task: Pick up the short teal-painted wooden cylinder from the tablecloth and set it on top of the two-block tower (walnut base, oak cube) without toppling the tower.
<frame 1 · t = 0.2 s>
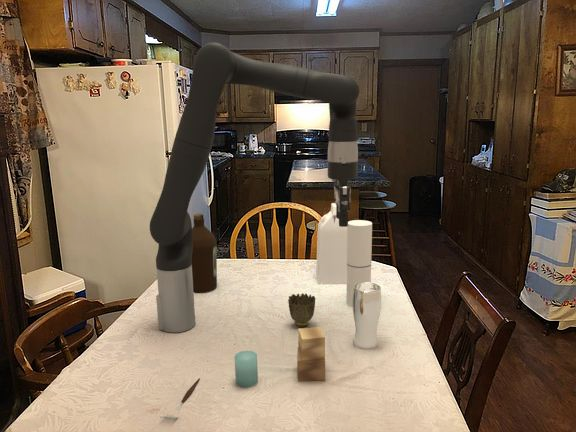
hand: (341, 222, 121), 29 cm above the table, tool pointing down, fingers open, 8 cm apart
top block: (311, 353, 104), point 5 cm above the table, touching base block
cylinder: (246, 381, 102), on the table
base block: (311, 374, 105), on the table, touching top block
milk: (333, 278, 164), on the table
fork: (184, 402, 96), on the table
cylindrical container: (358, 303, 142), on the table
cup: (302, 326, 128), on the table
beer glass: (365, 343, 118), on the table
olive oil: (203, 288, 157), on the table
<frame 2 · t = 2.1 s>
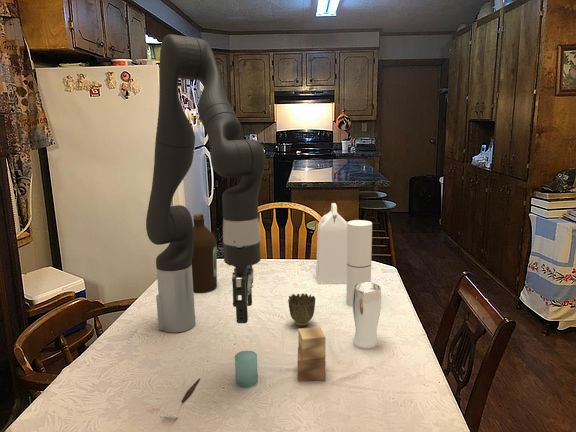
hand: (244, 313, 99), 16 cm above the table, tool pointing down, fingers open, 8 cm apart
nothing on the table moved.
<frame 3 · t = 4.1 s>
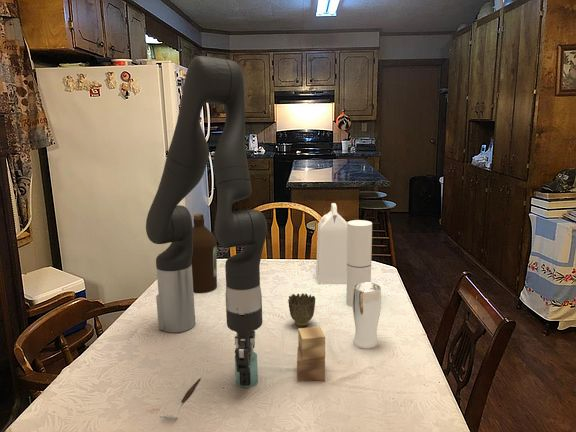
hand: (246, 377, 102), 1 cm above the table, tool pointing down, fingers closed on cylinder, 4 cm apart
cylinder: (246, 381, 102), on the table, touching gripper
everything else where it was.
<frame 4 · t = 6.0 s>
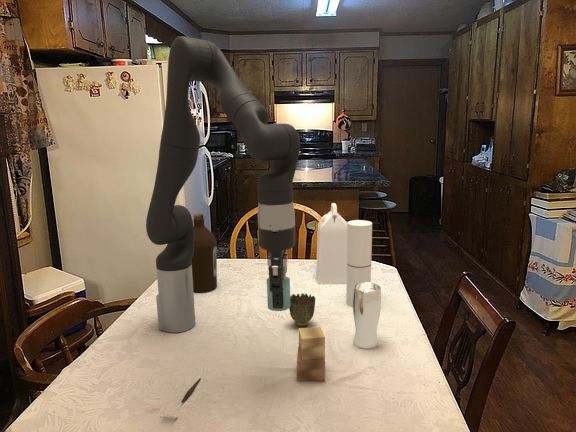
hand: (279, 302, 99), 18 cm above the table, tool pointing down, fingers closed on cylinder, 4 cm apart
cylinder: (279, 306, 99), point 17 cm above the table, touching gripper
everything else where it was.
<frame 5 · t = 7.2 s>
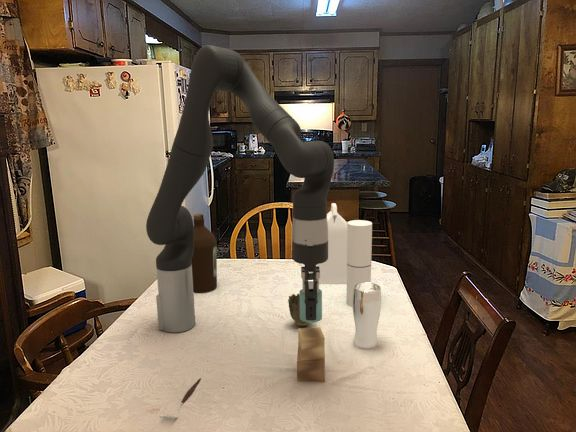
hand: (310, 313, 102), 14 cm above the table, tool pointing down, fingers closed on cylinder, 4 cm apart
cylinder: (310, 317, 102), point 13 cm above the table, touching gripper
everything else where it was.
when the fingers open (12 cm above the table, at t = 8.0 s): cylinder drops 1 cm, resting on top block.
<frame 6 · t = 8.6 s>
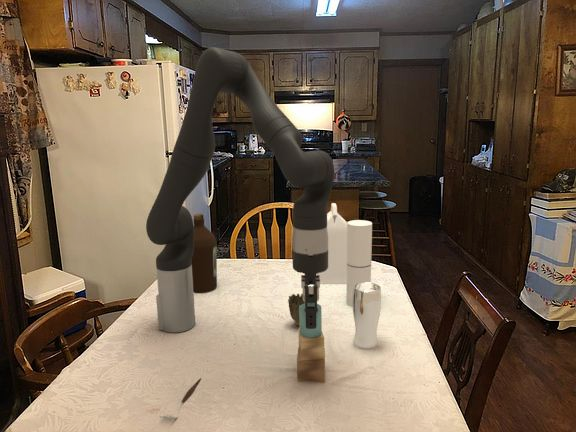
hand: (310, 319, 102), 13 cm above the table, tool pointing down, fingers open, 8 cm apart
top block: (311, 354, 104), point 5 cm above the table, touching base block, cylinder
cylinder: (310, 332, 103), point 10 cm above the table, touching top block
everything else where it was.
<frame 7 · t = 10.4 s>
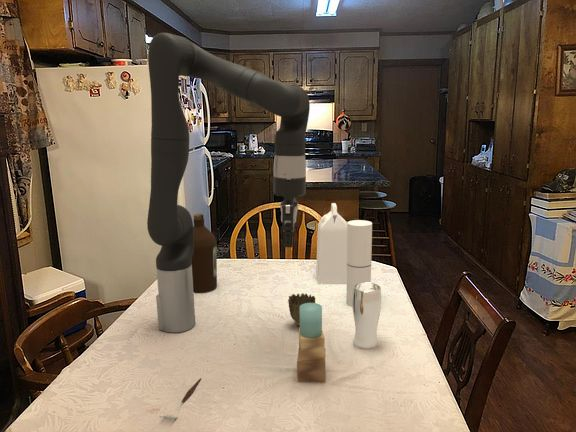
hand: (289, 241, 113), 27 cm above the table, tool pointing down, fingers open, 8 cm apart
nothing on the table moved.
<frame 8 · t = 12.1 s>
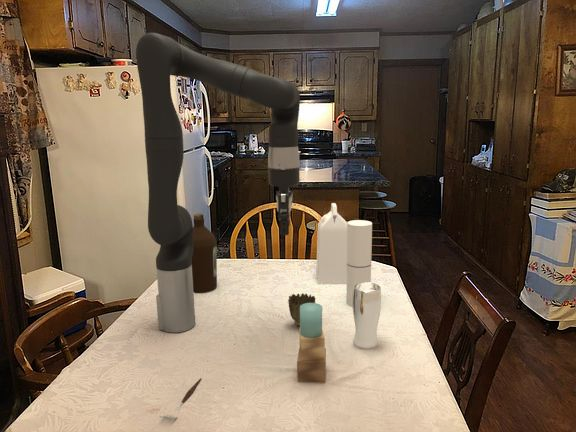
hand: (285, 230, 117), 28 cm above the table, tool pointing down, fingers open, 8 cm apart
nothing on the table moved.
at the end: cylinder 0.3 cm off-centre on the base block, point 10.0 cm above the base block's base; top block tilted 0°; the gripper is holding nothing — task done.
